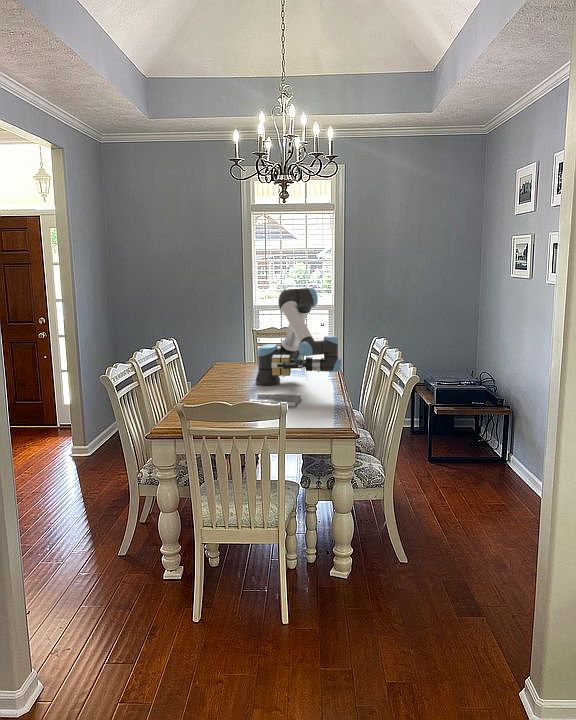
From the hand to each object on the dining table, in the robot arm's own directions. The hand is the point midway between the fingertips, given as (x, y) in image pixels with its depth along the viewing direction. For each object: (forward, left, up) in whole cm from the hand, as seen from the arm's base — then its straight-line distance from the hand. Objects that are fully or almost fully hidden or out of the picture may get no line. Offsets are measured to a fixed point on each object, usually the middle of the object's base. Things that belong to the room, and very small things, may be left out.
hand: (274, 363), depth 328 cm
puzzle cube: (+4, 0, -6) cm, 7 cm away
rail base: (+5, -16, -18) cm, 25 cm away
